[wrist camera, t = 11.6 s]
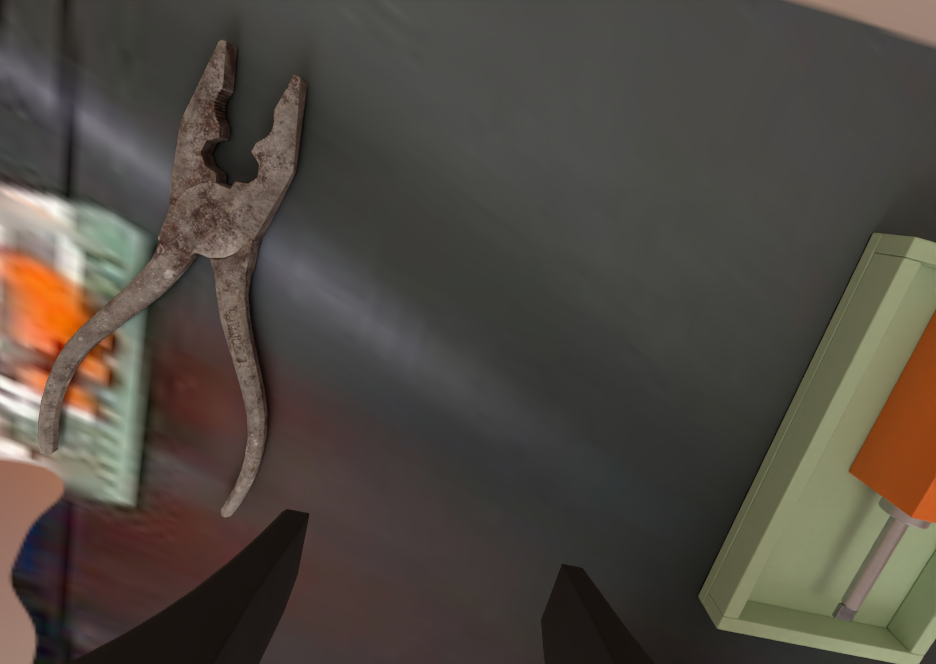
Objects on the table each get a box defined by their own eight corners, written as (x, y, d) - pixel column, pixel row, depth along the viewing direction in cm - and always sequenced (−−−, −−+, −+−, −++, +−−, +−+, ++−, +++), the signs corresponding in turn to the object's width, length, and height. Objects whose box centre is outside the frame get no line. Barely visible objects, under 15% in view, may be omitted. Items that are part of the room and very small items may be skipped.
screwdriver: (938, 303, 21) (1027, 324, 18) (1007, 322, 21) (1107, 346, 18) (786, 584, 25) (836, 643, 22) (845, 596, 25) (903, 656, 22)
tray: (883, 633, 27) (916, 668, 25) (697, 596, 26) (716, 629, 24) (1097, 295, 21) (1159, 305, 19) (872, 232, 20) (916, 236, 18)
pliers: (34, 488, 22) (20, -11, 16) (50, 478, 23) (41, -1, 17) (251, 526, 23) (306, 61, 17) (258, 514, 23) (313, 67, 18)
